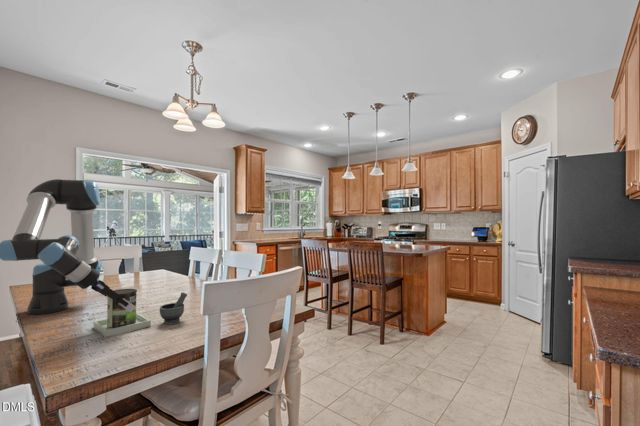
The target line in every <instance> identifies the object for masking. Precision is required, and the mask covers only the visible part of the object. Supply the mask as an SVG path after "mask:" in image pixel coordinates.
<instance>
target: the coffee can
mask: <svg viewBox="0 0 640 426" xmlns="http://www.w3.org/2000/svg"><path fill="white" fill-rule="evenodd" d="M113 291H114V292H116V293H117V294H119V295H120V296H122V297H123V298H124V299H126V300H127V301H129V302H130V303H131V304H133V305H134V306H136V307H135V308H134V309H133V311H132V312H131V313H130V312H129V311H127V310H126V309H125V308H123V307H122V306H120V305H119V304H117V305H116V304H115V303H116V302H115V301H114V300H112V299H111V298H109V297H108V298H107V317H106V319H107V329H113V328H118V327H122V326H126V325H131V324H135V323H136V313H137V291H138V290H137V289H135V288H121V289H114V290H113Z"/></svg>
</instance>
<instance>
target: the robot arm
mask: <svg viewBox="0 0 640 426" xmlns="http://www.w3.org/2000/svg"><path fill="white" fill-rule="evenodd" d="M26 203H27V204H26V207H25V209H24V212H23V214H22V216H21V219H20V221H19V223H18V226H17V227H16V230H15V232H14V234H13V237H12V238H11V239H8V240H2V241H1V242H0V260H1V261H4V262H5V261H6V262H8V261H10V262H12V261H13V262H15V261H16V262H18V261H33V260H35V261H36V260H39V261H41V262H42V263H40V264H36V265H35V266H33V269H32V275H31V276H32V297H31V298H30V301H29V304H28V306H27V310H26V314H28V315H46V314H51V313H57V312H60V311H64V310H66V309H68V308H69V301H68V298H67V296H66V293H65V288H67V287H79V288H80V289H83V290H85V289H88V288H90V289H92V291H95V292H97V293H99V294H101V295H103V296H104V297H106V298H107V299H108V297H109V298H111V299H112V300H114V301H115V302H116V303H115V304H116V305H117V304H119V305H120V306H122V307H123V308H125V309H126V310H127V311H129V312H130V313H131V312H132V311H133V309H134V308H135V307H136V308H137V305H136V306H134V305H133V304H131V303H130V302H129V301H127V300H126V299H124V298H123V297H122V296H120V295H119V294H117V293H116V292H114V290H113V289H111V287H110V286H109V285H107V283H105V282H104V281H103V280H100V276H101V275H100V274H101V270H102V262H101V261H100V260H99V258H98V257H97V256H96V255H95V243H94V240H95V239H94V211H95V210H97V206H100V205H101V195H100V190H99V186H98V184H97V182H95V181H92V180H91V181H90V180H81V179H79V180H78V179H59V178H57V179H55V178H54V179H50V180H46V181H44V182H41V183H40V184H38V185H37V186H35V187H34V188H33V189H32V190H30V192H29V193H28V194H27V197H26ZM56 205H65V206H66V207H65V208H66V210H68V212H70V223H71V224H70V225H71V235H69V234H68V235H67V234H66V235H62V236H60V237H58V238H47V239H46V238H44V239H43V238H42V239H41V237H42V235H43V234H42V233H43V231H44V228H45V225H46V222H47V219H48V217H49V214H50V212H51V209H52V208H55V206H56Z"/></svg>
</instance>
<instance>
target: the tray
mask: <svg viewBox="0 0 640 426" xmlns="http://www.w3.org/2000/svg"><path fill="white" fill-rule="evenodd" d="M151 322H152V321H151V319H150V318H147V317H146V316H144V315H142V314H140V313H139V312H136V323H135V324H131V325H126V326H122V327H118V328H113V329H107V318H104V319H101V320H95V321H93V329H94V330H95V331H97V332H98V333H99V334H100V335H102V337H103V338H111V337H113V336H114V337H115V336H118V335H121V334H127V333H129V332H134V331H138V330H141V329H146V328H150V327H151V326H152V325H151V324H152V323H151Z"/></svg>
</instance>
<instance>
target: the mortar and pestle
mask: <svg viewBox="0 0 640 426" xmlns="http://www.w3.org/2000/svg"><path fill="white" fill-rule="evenodd" d="M187 297H188V294H187V293H185V292H181V293H180V295H179V297H178V299H177V301H176V302H171V303H166V304H165V303H164V304H163V305H160V306H159V315H160V317H161V318H162V319H163V321H164V323H163V324H164V325H175V324H178V323H179V322H180V320H181V319H180V318H181V317H182V316H183V315H184V311H185V303H184V302H185V300H186V298H187Z"/></svg>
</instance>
